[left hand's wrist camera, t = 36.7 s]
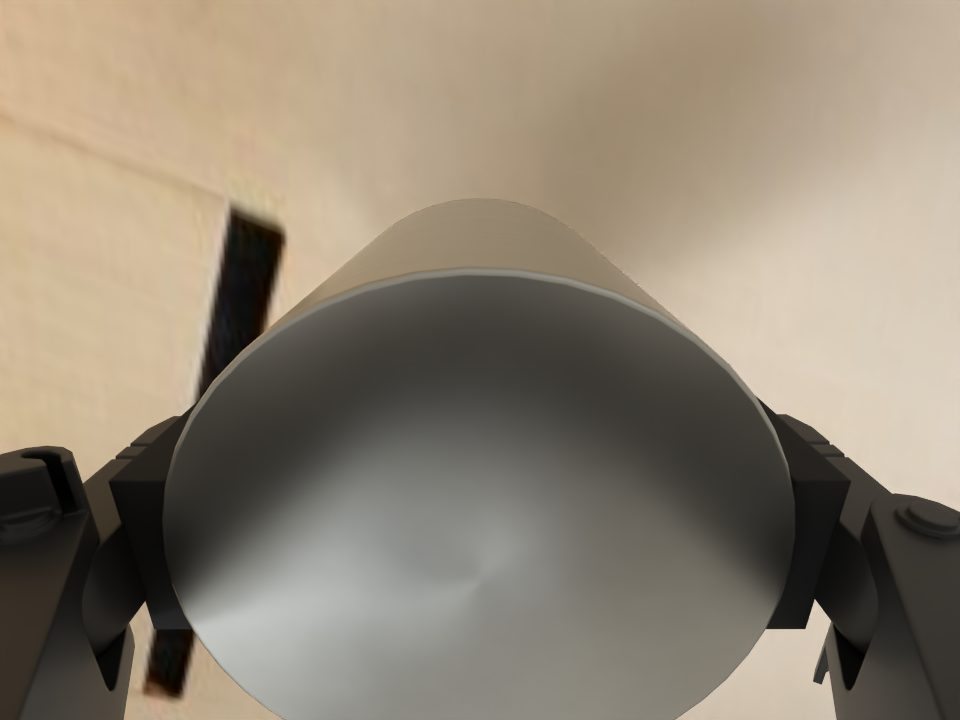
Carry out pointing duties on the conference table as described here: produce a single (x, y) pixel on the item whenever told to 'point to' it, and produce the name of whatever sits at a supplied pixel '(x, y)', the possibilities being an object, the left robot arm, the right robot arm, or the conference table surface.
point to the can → (478, 490)
